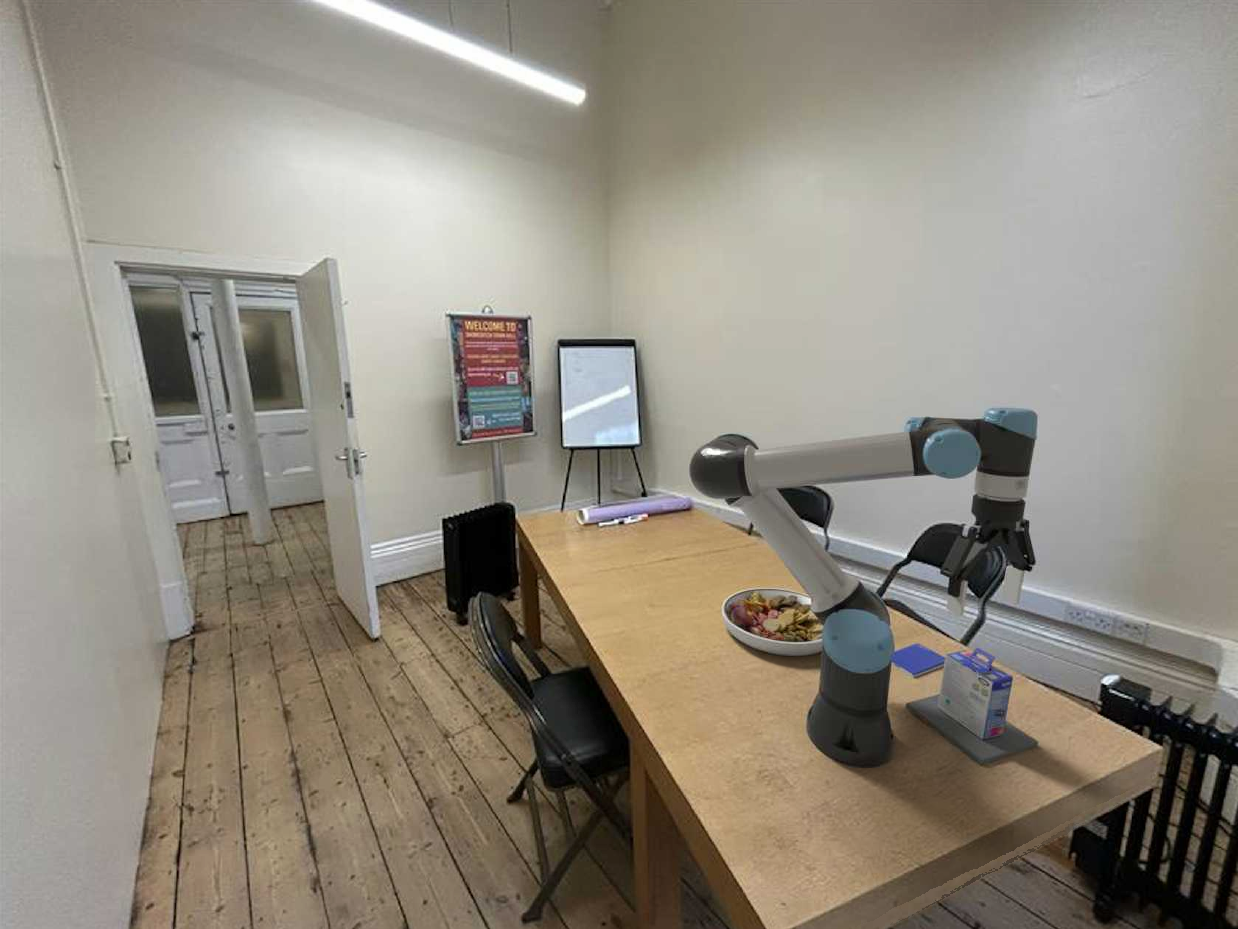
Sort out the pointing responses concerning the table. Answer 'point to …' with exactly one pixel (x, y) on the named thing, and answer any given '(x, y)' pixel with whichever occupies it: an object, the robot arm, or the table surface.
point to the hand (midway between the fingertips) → (982, 606)
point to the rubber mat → (971, 733)
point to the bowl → (774, 621)
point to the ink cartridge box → (975, 693)
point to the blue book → (917, 660)
